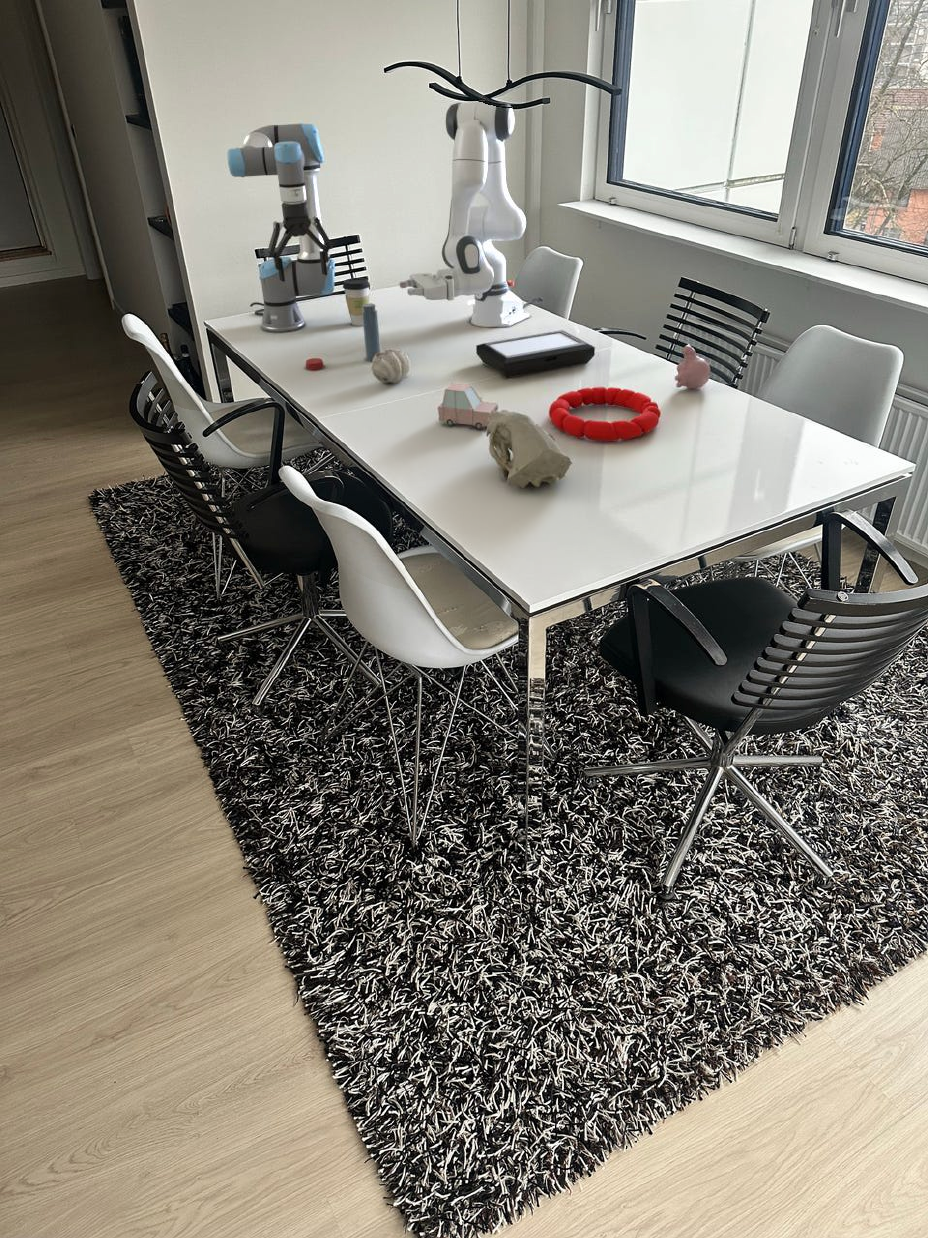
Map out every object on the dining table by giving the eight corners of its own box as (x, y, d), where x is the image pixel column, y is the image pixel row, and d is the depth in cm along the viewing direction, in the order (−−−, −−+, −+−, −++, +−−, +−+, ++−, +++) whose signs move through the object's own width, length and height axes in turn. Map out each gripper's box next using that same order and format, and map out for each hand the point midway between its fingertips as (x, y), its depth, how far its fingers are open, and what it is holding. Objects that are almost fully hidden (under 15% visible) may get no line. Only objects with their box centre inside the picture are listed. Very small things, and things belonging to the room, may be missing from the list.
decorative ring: (589, 435, 224) (684, 402, 234) (527, 398, 247) (617, 369, 256) (589, 461, 229) (683, 427, 238) (529, 422, 251) (617, 393, 260)
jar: (377, 361, 291) (372, 307, 281) (364, 360, 292) (359, 306, 283) (382, 357, 295) (378, 303, 285) (369, 355, 296) (365, 302, 286)
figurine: (665, 387, 264) (669, 347, 257) (693, 380, 268) (698, 340, 261) (686, 396, 257) (690, 355, 250) (714, 388, 262) (720, 348, 255)
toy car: (488, 432, 240) (488, 396, 234) (436, 426, 244) (434, 390, 239) (499, 419, 247) (499, 384, 241) (448, 413, 252) (447, 379, 246)
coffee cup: (372, 326, 323) (368, 283, 314) (345, 327, 323) (340, 284, 315) (374, 318, 331) (371, 276, 322) (348, 319, 331) (344, 277, 323)
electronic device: (503, 360, 269) (476, 342, 284) (503, 380, 272) (476, 362, 287) (595, 344, 279) (563, 327, 294) (594, 364, 283) (563, 346, 298)
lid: (305, 365, 290) (304, 359, 288) (321, 363, 291) (321, 357, 290) (307, 371, 285) (307, 364, 284) (324, 369, 287) (324, 362, 285)
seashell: (364, 381, 275) (361, 349, 270) (407, 372, 281) (405, 341, 275) (377, 391, 268) (374, 358, 262) (421, 382, 273) (420, 349, 268)
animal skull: (496, 517, 219) (521, 479, 201) (463, 429, 225) (484, 384, 207) (557, 503, 225) (586, 465, 206) (523, 417, 231) (549, 373, 212)
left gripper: (256, 208, 253) (268, 285, 265) (338, 198, 262) (346, 273, 274) (249, 204, 259) (260, 280, 271) (329, 195, 268) (337, 268, 280)
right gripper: (434, 266, 295) (394, 270, 291) (454, 280, 278) (412, 285, 275) (435, 286, 298) (396, 290, 295) (455, 301, 282) (413, 306, 279)
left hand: (303, 277), depth 272 cm, fingers open, 13 cm apart
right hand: (403, 288), depth 285 cm, fingers open, 8 cm apart
